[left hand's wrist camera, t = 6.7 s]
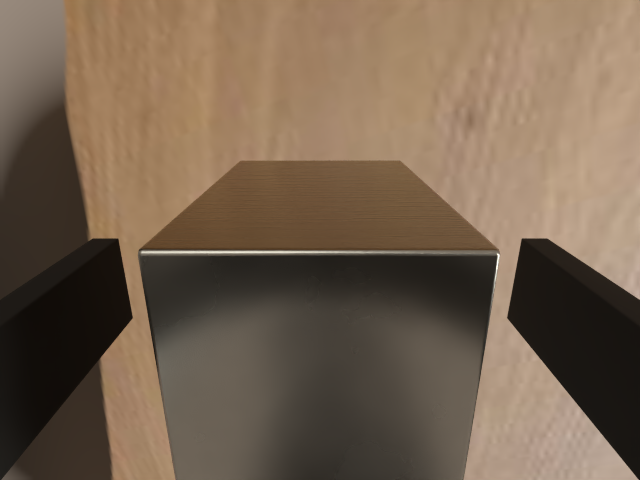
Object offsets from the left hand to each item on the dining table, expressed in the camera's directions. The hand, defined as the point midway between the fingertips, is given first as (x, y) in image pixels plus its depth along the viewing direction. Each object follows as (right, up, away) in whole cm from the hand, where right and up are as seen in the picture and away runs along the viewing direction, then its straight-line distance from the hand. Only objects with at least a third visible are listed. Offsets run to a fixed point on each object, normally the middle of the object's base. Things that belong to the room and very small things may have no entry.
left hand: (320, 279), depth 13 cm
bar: (0, -7, +5) cm, 9 cm away
